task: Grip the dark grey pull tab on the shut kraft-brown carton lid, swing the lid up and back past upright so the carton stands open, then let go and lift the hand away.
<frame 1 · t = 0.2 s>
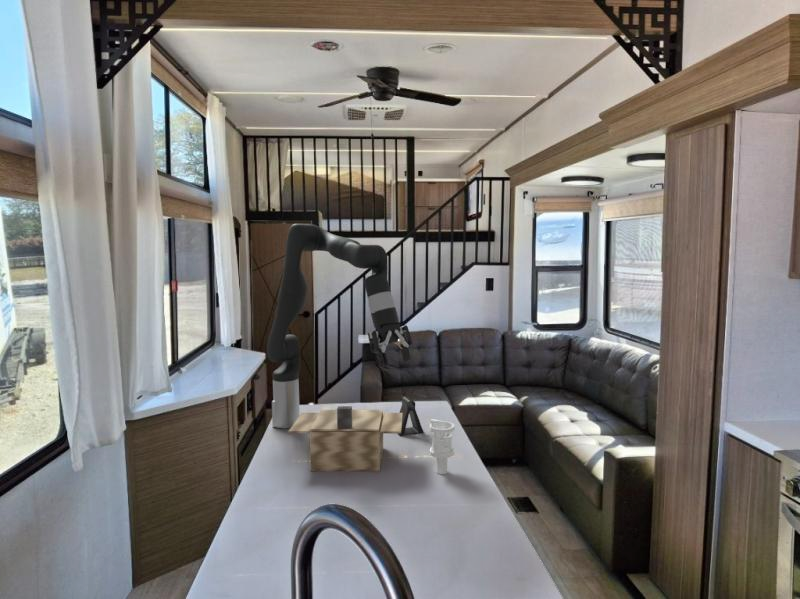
hand: (396, 363, 148), 31 cm above the countertop, tool tilted 20°, fingers open, 8 cm apart
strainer: (441, 472, 147), on the countertop
phone stand: (408, 432, 180), on the countertop
lid flap: (348, 410, 156), point 15 cm above the countertop, hinge at 0.0°
carton: (349, 458, 157), on the countertop
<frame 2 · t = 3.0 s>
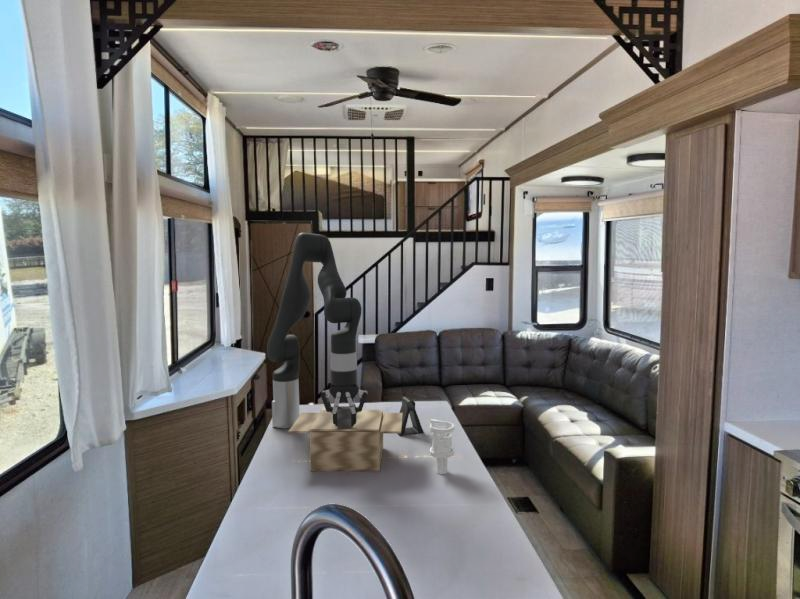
hand: (344, 425, 148), 13 cm above the countertop, tool pointing down, fingers closed on lid flap, 4 cm apart
lid flap: (348, 410, 156), point 15 cm above the countertop, hinge at 0.0°, touching gripper
everything else where it was.
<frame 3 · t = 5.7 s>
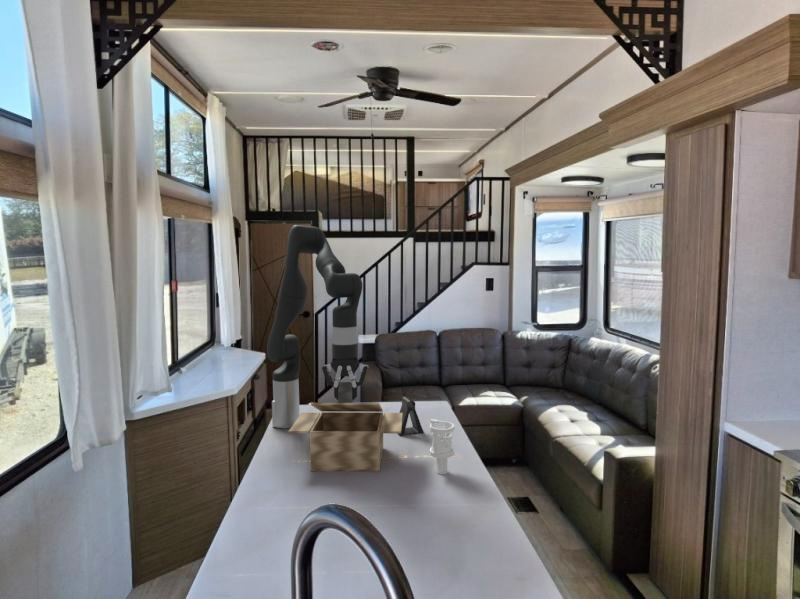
hand: (345, 399, 151), 20 cm above the countertop, tool pointing down, fingers closed on lid flap, 4 cm apart
lid flap: (348, 397, 157), point 19 cm above the countertop, hinge at 23.8°, touching gripper
everything else where it was.
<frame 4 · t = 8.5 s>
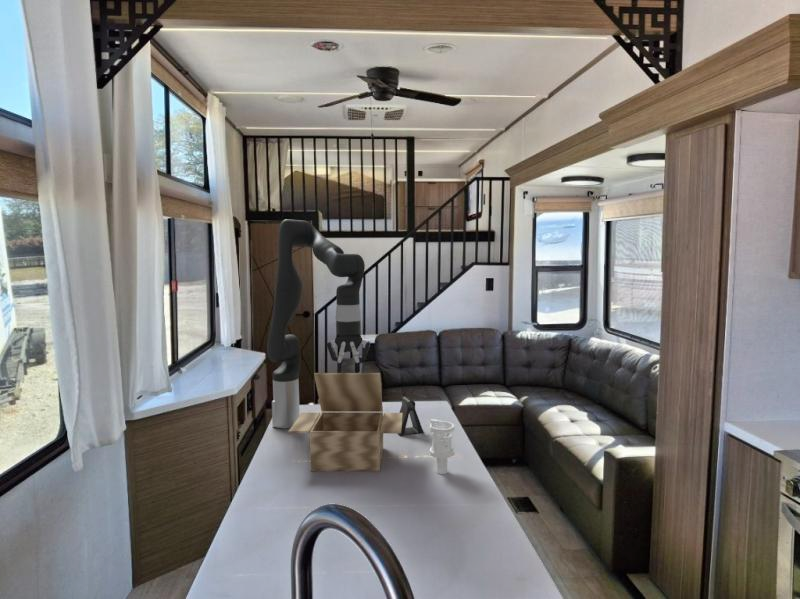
hand: (349, 373, 158), 26 cm above the countertop, tool pointing down, fingers closed on lid flap, 4 cm apart
lid flap: (350, 385, 162), point 21 cm above the countertop, hinge at 55.0°, touching gripper
everything else where it was.
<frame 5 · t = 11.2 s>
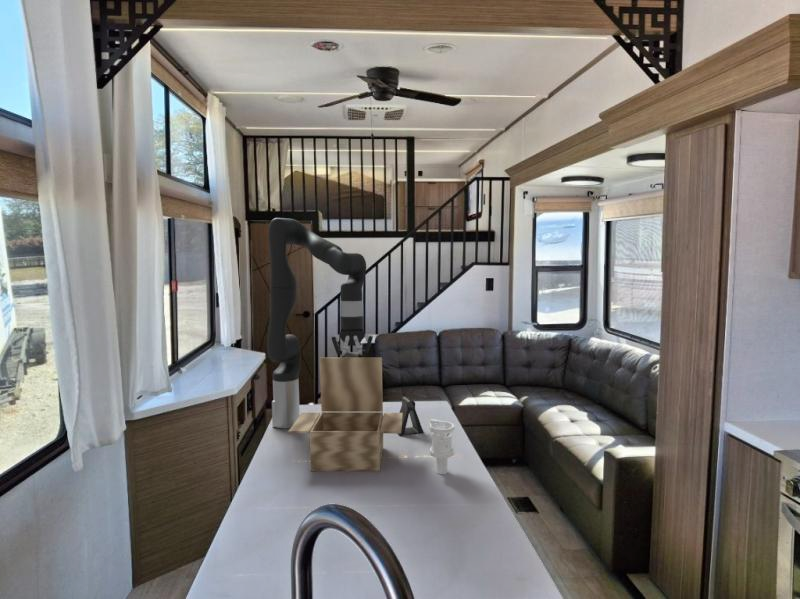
hand: (352, 366, 167), 26 cm above the countertop, tool pointing down, fingers closed on lid flap, 4 cm apart
lid flap: (352, 381, 166), point 21 cm above the countertop, hinge at 85.0°, touching gripper
everything else where it was.
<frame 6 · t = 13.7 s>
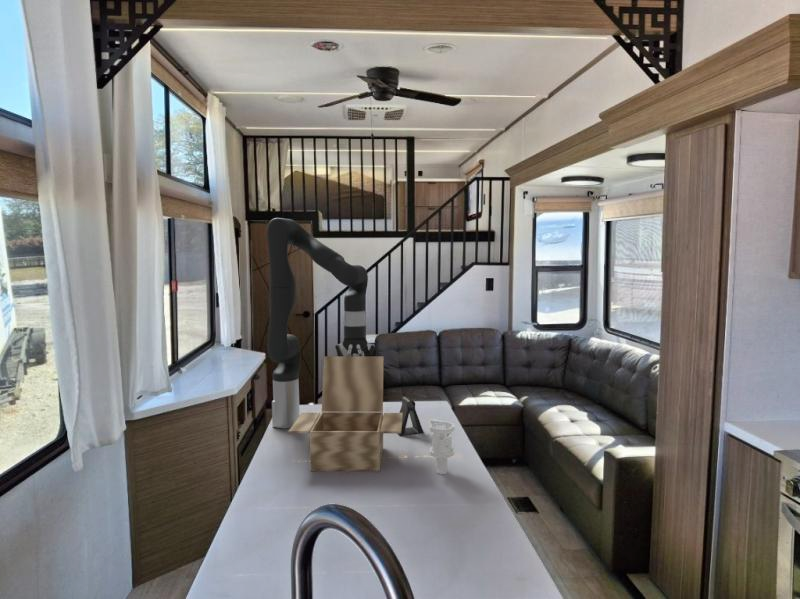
hand: (355, 373, 175), 22 cm above the countertop, tool pointing down, fingers closed on lid flap, 4 cm apart
lid flap: (354, 384, 171), point 19 cm above the countertop, hinge at 111.9°, touching gripper
everything else where it was.
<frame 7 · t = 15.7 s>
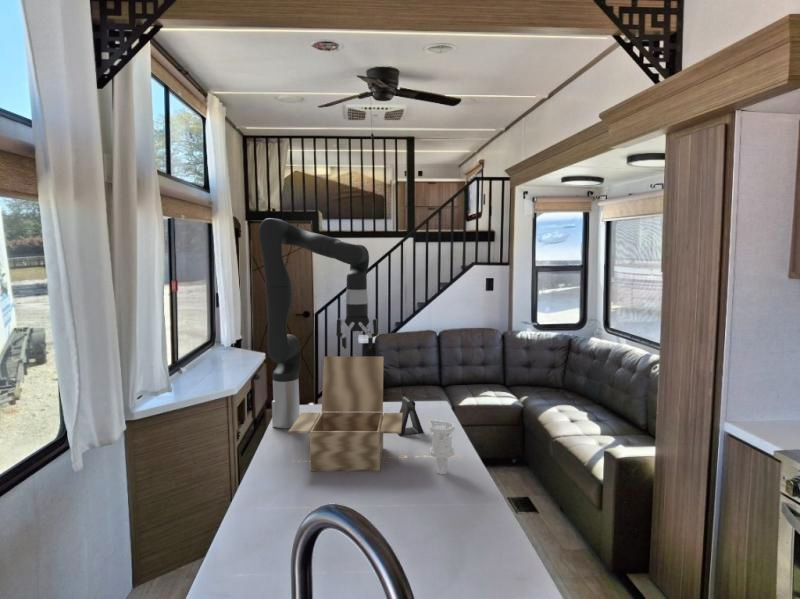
hand: (357, 348, 179), 30 cm above the countertop, tool pointing down, fingers open, 8 cm apart
lid flap: (354, 384, 171), point 19 cm above the countertop, hinge at 112.2°
everything else where it was.
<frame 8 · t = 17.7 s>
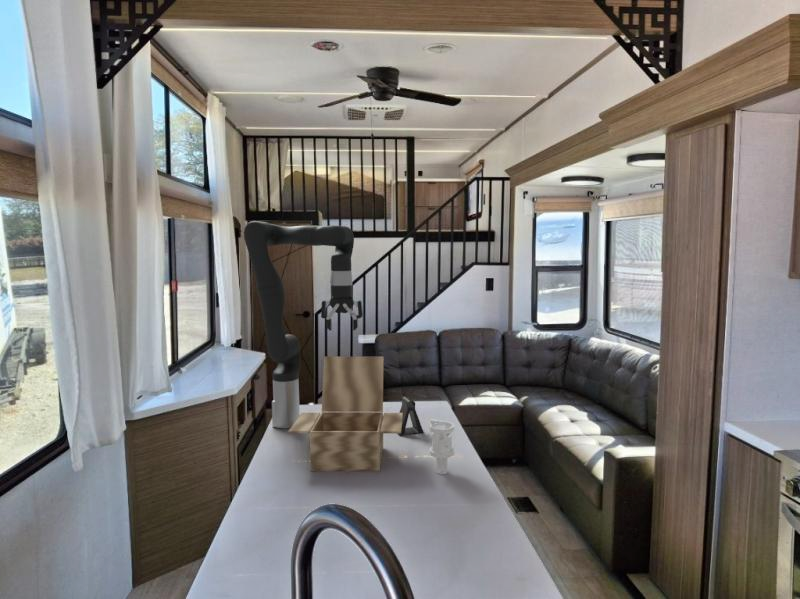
hand: (342, 330, 179), 36 cm above the countertop, tool pointing down, fingers open, 8 cm apart
nothing on the countertop moved.
at the end: lid flap at +112° (first picture: +0°); the gripper is holding nothing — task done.
